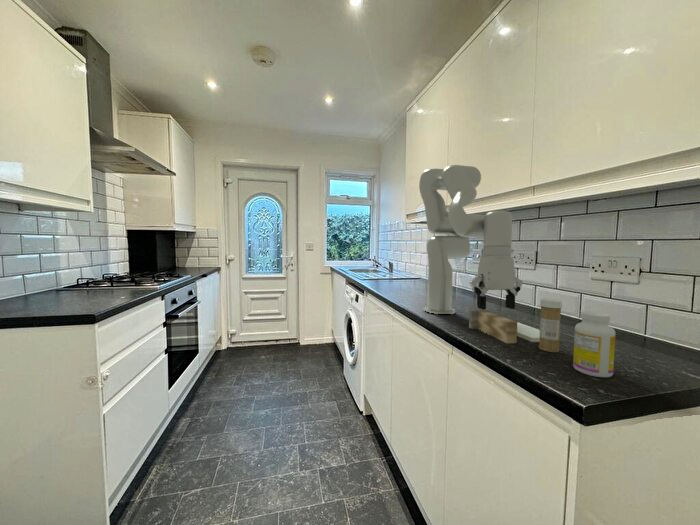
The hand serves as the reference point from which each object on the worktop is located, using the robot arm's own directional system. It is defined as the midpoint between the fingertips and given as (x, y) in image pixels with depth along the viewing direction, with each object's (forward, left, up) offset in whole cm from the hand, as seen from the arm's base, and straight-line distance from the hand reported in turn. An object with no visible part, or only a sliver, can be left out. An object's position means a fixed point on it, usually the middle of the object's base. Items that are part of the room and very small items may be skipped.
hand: (495, 308), depth 86 cm
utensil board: (-1, +11, -8) cm, 14 cm away
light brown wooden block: (-1, 0, -8) cm, 8 cm away
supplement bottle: (+26, +4, -9) cm, 28 cm away
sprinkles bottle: (+13, +6, -9) cm, 17 cm away
